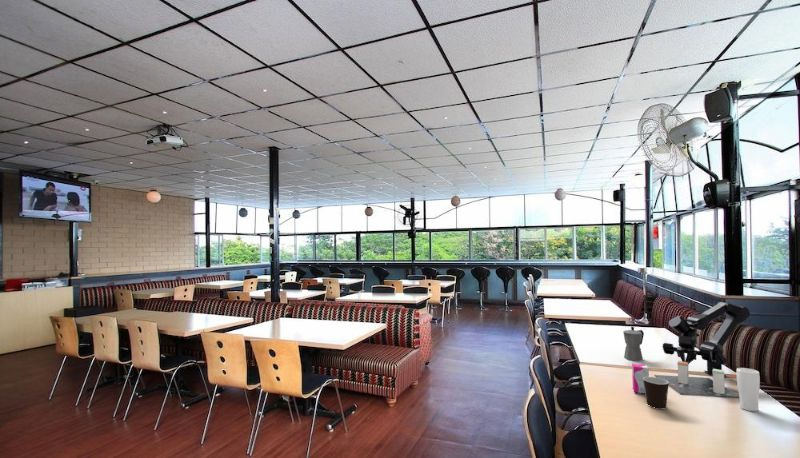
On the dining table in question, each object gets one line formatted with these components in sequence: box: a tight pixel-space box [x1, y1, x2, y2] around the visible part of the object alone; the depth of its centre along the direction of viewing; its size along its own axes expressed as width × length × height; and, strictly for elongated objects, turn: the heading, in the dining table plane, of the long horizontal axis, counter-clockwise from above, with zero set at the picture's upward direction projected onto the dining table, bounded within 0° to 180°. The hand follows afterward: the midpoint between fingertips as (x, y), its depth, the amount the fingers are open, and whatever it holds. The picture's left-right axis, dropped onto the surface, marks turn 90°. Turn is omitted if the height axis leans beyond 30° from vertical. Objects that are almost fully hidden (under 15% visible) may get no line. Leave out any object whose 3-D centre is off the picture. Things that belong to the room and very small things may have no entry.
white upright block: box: [712, 369, 726, 394], centre depth 167 cm, size 3×4×9 cm
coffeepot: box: [622, 326, 645, 362], centre depth 219 cm, size 15×9×18 cm, turn 113°
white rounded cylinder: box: [736, 367, 761, 413], centre depth 152 cm, size 7×7×15 cm
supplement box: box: [631, 363, 650, 395], centre depth 170 cm, size 6×6×12 cm
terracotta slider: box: [677, 360, 690, 385], centre depth 179 cm, size 3×4×9 cm
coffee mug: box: [643, 376, 669, 409], centre depth 156 cm, size 12×9×10 cm
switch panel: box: [653, 374, 740, 399], centre depth 176 cm, size 24×24×1 cm
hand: (684, 366), depth 182 cm, fingers closed
